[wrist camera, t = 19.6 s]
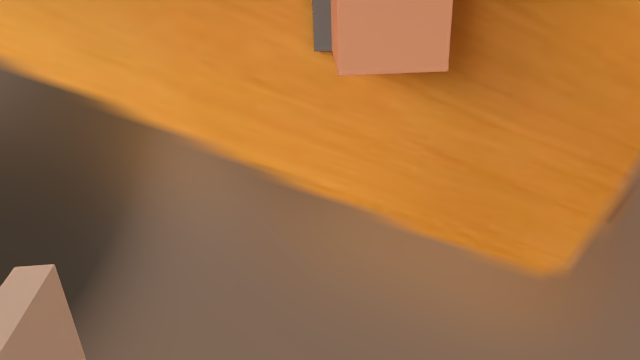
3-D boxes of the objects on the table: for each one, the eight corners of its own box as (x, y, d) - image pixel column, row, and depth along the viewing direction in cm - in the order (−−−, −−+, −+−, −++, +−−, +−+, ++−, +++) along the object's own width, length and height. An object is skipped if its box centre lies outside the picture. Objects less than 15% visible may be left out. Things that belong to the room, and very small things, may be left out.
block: (331, 49, 36) (338, 75, 31) (329, -52, 33) (335, -43, 28) (425, 45, 36) (447, 71, 31) (430, -56, 34) (456, -47, 28)
